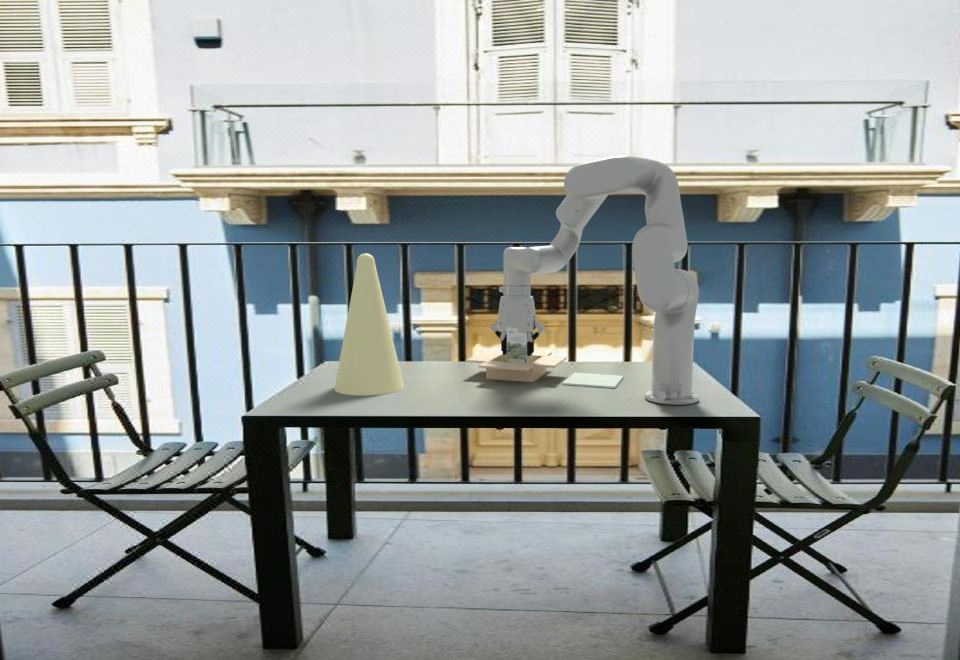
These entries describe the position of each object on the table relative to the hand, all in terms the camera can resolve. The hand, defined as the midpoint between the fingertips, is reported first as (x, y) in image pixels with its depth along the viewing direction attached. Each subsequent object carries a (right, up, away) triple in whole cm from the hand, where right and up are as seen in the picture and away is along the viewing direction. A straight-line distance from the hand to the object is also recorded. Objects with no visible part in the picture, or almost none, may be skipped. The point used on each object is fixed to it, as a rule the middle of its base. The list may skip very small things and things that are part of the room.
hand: (517, 354), depth 199 cm
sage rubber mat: (+20, -7, -7) cm, 23 cm away
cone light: (-40, -8, -9) cm, 42 cm away
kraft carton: (0, -6, +1) cm, 6 cm away
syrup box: (0, -6, +1) cm, 6 cm away
